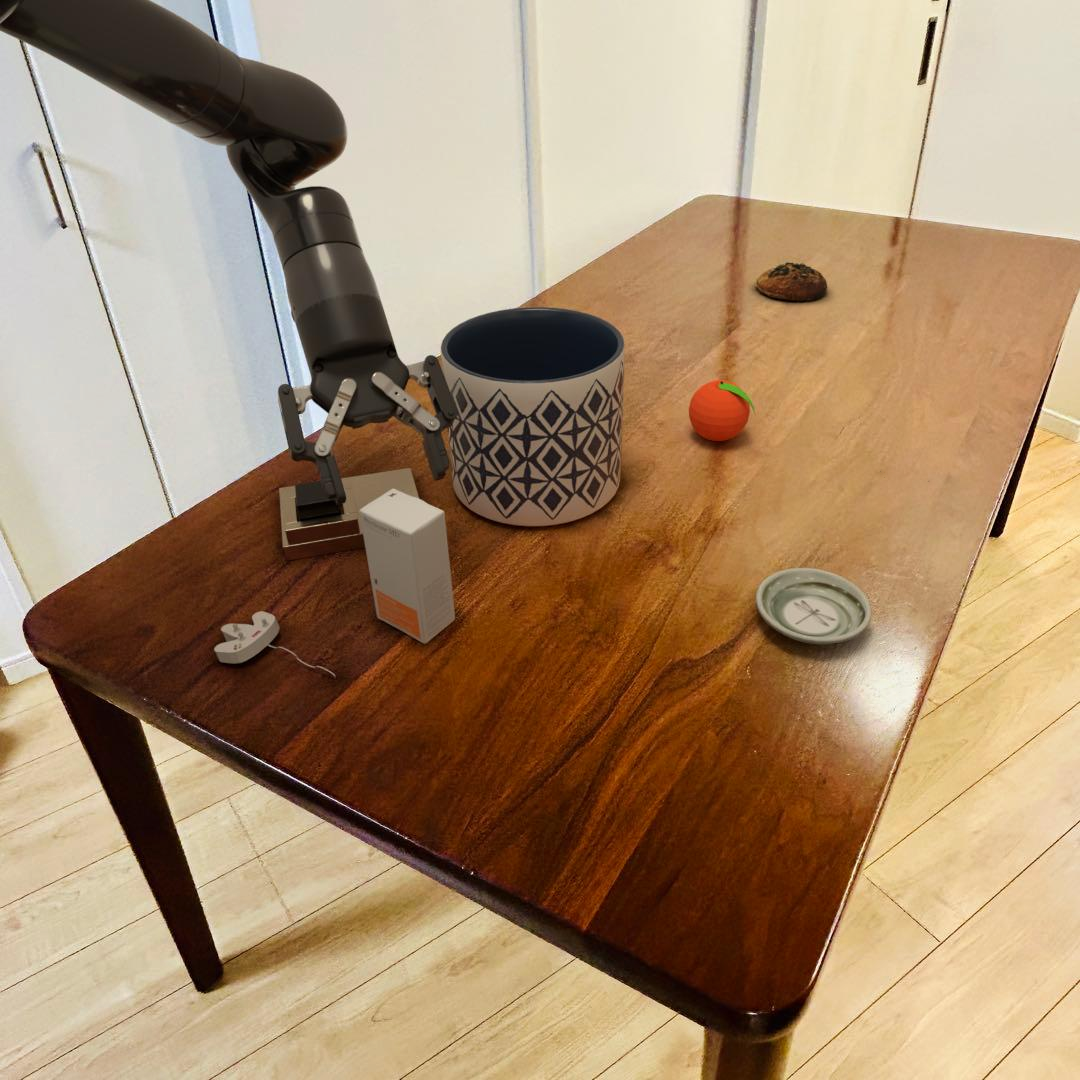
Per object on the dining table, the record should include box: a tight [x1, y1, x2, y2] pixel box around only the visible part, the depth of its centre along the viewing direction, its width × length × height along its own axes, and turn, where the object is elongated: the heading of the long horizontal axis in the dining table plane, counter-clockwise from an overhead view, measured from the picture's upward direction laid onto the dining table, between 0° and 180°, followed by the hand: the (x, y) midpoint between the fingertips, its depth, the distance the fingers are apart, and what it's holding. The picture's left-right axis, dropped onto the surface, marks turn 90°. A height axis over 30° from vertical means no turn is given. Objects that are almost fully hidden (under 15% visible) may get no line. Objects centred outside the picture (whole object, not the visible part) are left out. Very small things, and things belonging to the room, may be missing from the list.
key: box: [294, 479, 342, 522], centre depth 89 cm, size 4×4×2 cm
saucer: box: [755, 567, 873, 645], centre depth 78 cm, size 10×10×2 cm
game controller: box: [214, 610, 337, 679], centre depth 77 cm, size 6×12×3 cm, turn 80°
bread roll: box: [754, 261, 828, 302], centre depth 141 cm, size 11×11×5 cm
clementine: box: [688, 379, 756, 442], centre depth 103 cm, size 8×7×7 cm
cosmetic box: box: [360, 489, 456, 645], centre depth 77 cm, size 6×4×12 cm
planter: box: [440, 306, 626, 527], centre depth 93 cm, size 18×18×16 cm
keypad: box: [278, 467, 420, 562], centre depth 93 cm, size 14×11×4 cm
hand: (392, 489), depth 75 cm, fingers open, 8 cm apart
